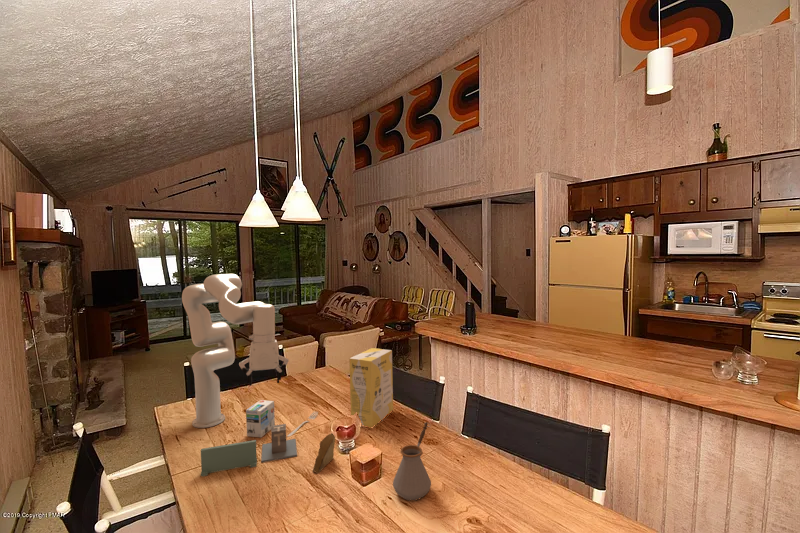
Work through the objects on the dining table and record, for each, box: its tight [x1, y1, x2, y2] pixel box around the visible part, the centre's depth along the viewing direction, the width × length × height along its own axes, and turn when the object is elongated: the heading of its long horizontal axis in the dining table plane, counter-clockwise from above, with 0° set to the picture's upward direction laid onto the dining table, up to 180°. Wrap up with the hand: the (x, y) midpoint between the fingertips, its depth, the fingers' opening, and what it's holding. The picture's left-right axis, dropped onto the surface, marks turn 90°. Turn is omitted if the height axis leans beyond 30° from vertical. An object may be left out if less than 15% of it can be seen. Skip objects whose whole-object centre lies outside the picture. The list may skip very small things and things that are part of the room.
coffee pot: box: [392, 421, 432, 501], centre depth 117 cm, size 21×12×15 cm, turn 158°
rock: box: [312, 433, 336, 473], centre depth 129 cm, size 11×9×10 cm
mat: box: [260, 438, 298, 463], centre depth 138 cm, size 12×12×1 cm
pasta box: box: [348, 347, 394, 427], centre depth 163 cm, size 18×10×28 cm, turn 153°
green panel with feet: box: [200, 439, 258, 477], centre depth 127 cm, size 4×17×8 cm, turn 108°
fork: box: [286, 411, 319, 438], centre depth 157 cm, size 3×24×2 cm, turn 161°
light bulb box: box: [245, 399, 276, 438], centre depth 153 cm, size 11×7×11 cm, turn 169°
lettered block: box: [270, 423, 287, 454], centre depth 137 cm, size 6×5×8 cm
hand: (264, 383), depth 139 cm, fingers open, 9 cm apart
